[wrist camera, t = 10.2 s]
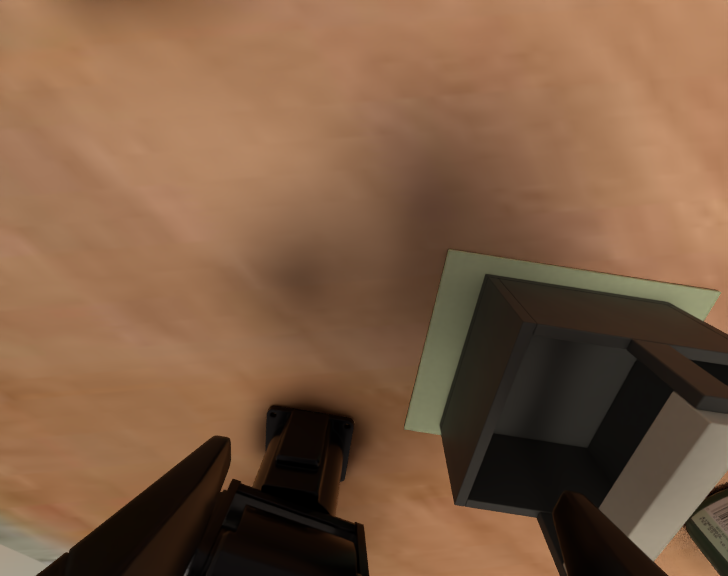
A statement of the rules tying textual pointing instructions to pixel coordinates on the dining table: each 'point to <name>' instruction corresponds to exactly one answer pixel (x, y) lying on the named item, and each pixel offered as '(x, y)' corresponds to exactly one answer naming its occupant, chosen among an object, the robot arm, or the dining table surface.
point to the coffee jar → (712, 530)
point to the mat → (459, 305)
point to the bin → (587, 408)
